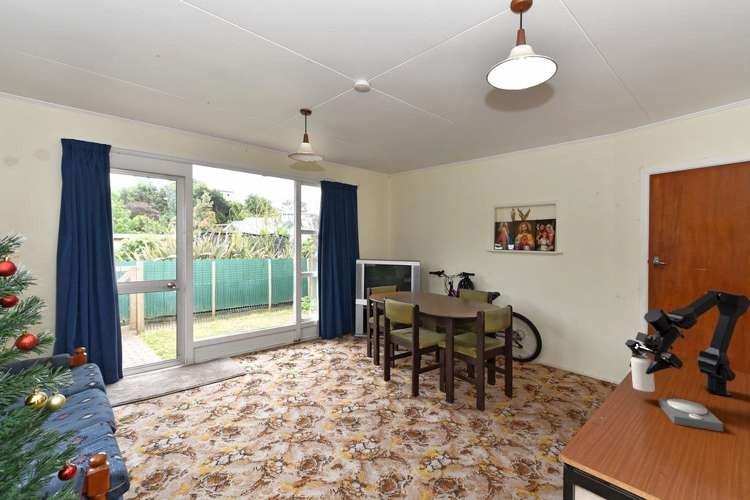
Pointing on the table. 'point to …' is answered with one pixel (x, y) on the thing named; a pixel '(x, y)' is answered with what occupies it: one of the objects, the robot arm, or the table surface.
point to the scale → (690, 414)
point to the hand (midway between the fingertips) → (638, 370)
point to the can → (642, 374)
